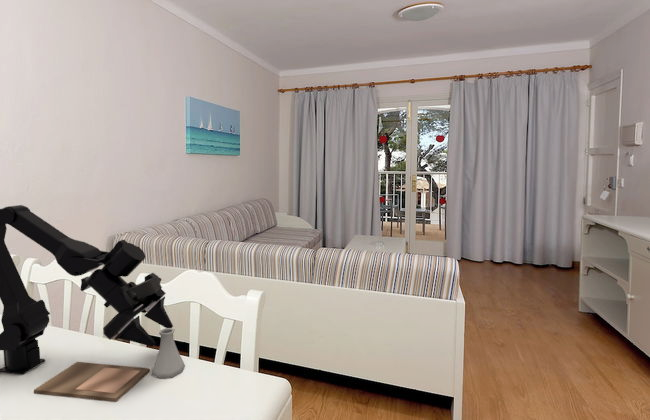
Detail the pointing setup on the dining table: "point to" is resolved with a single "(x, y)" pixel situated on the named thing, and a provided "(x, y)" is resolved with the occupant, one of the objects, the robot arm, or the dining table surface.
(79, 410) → the dining table surface
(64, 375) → the walnut board
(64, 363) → the dining table surface
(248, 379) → the dining table surface
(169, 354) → the flask
